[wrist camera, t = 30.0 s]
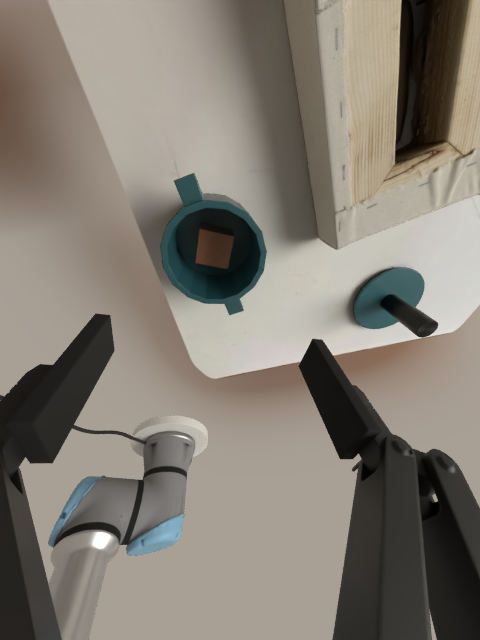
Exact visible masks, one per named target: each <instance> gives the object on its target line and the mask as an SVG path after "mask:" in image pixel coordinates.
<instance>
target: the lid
mask: <svg viewBox="0 0 480 640" xmlns="http://www.w3.org/2000/svg"><path fill="white" fill-rule="evenodd" d="M423 292H424V280H423V278H422V276H421V275H420V273H418V272H417V271H415V270H413V269H410V268H405V267H404V268H394V269H391V270H388V271H385V272H383V273H381V274H379V275H378V276H376V277H375V278H373V279H372V280H371V281H370V282H368V283H367V284H366V285H365V286H364V288H363V289H362V290H361V291H360V293H359V295H358V296H357V298H356V301H355V304H354V310H353V311H354V317H355V319H356V320H357V322H358V323H359V324H360V325H362V326H363V327H366V328H370V329H380V328H384V327H388V326H391V325H393V324H395V323H397V322H400V323H402V324H403V325H404V326H405V327H407V328H408V329H409V330H411V331H412V332H413V333H414V334H416V335H417V336H418V337H426V336H429V335H431V334H432V333H433V332H434V331H435V330H436V329H437V327H438V323H437V322H436V321H435V320H433V319H432V318H430V317H429V316H427V315H426V314H424V313H423V312H421V311H420V310H418V309H417V308H415V307H416V306H417V304H418V303H419V301H420V299H421V297H422V295H423Z"/></svg>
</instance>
